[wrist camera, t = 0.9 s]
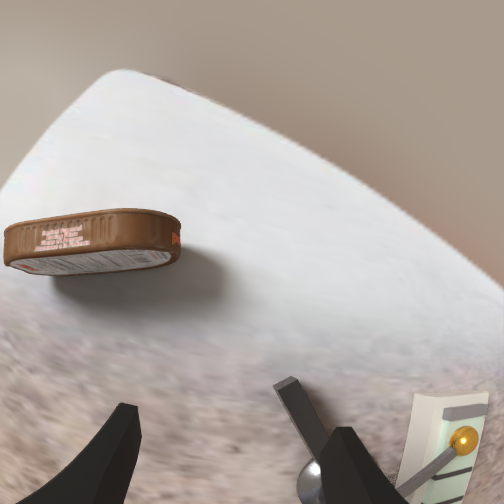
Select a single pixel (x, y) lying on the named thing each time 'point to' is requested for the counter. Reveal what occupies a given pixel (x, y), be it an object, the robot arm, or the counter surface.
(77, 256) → the tin
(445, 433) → the level stand
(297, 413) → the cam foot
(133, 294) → the counter surface
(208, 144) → the counter surface
